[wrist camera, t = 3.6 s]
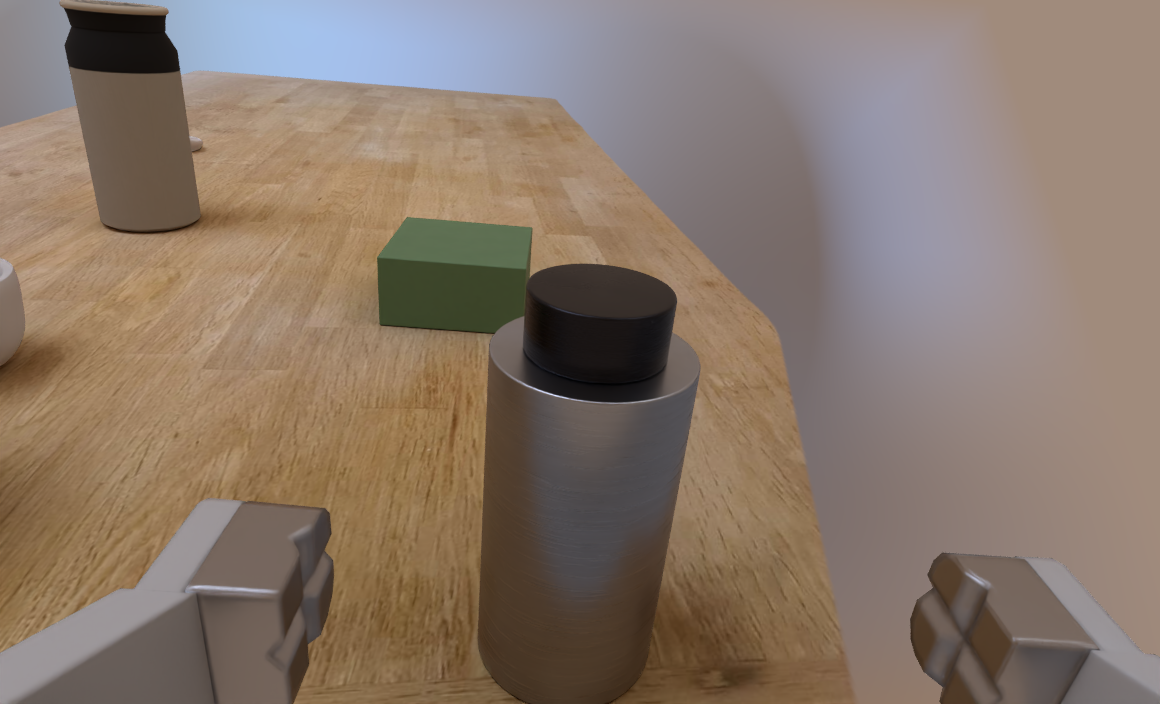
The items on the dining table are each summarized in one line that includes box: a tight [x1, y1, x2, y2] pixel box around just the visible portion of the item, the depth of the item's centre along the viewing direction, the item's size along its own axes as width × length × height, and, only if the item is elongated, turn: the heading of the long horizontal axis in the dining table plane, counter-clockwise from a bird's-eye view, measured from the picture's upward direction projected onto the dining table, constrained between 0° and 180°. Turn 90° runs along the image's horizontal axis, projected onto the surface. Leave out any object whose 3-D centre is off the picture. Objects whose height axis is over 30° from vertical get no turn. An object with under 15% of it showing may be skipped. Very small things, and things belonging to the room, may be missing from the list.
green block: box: [377, 217, 532, 333], centre depth 54 cm, size 10×10×5 cm
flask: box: [478, 264, 700, 704], centre depth 24 cm, size 6×6×14 cm
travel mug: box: [60, 0, 201, 232], centre depth 62 cm, size 8×8×18 cm
